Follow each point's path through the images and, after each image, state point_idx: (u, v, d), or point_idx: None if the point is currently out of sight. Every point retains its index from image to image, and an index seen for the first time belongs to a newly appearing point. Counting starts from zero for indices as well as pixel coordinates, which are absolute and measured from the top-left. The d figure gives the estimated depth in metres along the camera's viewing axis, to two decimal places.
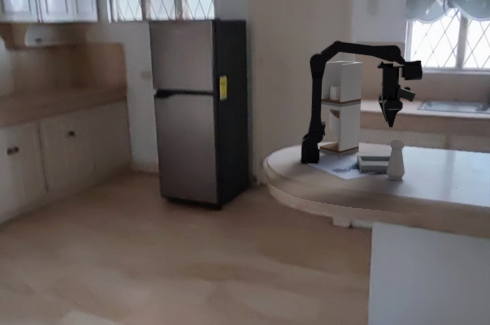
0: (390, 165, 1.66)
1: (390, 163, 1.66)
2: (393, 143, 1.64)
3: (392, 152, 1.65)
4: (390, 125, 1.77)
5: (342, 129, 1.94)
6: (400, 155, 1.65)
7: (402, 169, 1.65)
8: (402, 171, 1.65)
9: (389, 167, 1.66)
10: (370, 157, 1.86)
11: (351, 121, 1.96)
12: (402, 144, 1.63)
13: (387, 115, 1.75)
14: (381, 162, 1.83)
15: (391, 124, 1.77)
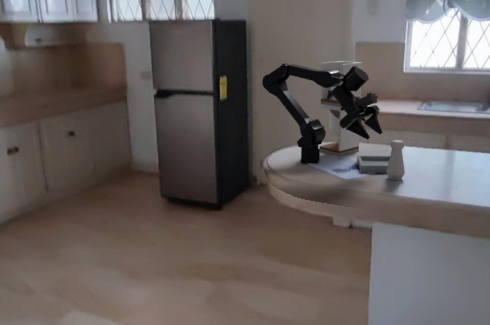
0: (390, 165, 1.66)
1: (390, 163, 1.66)
2: (393, 143, 1.64)
3: (392, 152, 1.65)
4: (366, 137, 1.66)
5: (342, 129, 1.94)
6: (400, 155, 1.65)
7: (402, 169, 1.65)
8: (402, 171, 1.65)
9: (389, 167, 1.66)
10: (370, 157, 1.86)
11: None
12: (402, 144, 1.63)
13: (355, 131, 1.67)
14: (381, 162, 1.83)
15: (366, 136, 1.66)
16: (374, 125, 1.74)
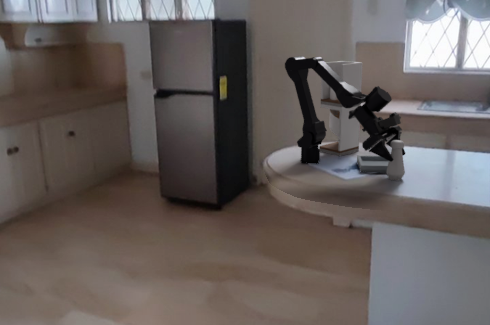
0: (390, 165, 1.66)
1: (390, 163, 1.66)
2: (393, 143, 1.64)
3: (392, 152, 1.65)
4: (389, 159, 1.63)
5: (342, 129, 1.94)
6: (400, 155, 1.65)
7: (402, 169, 1.65)
8: (402, 171, 1.65)
9: (389, 167, 1.66)
10: (370, 157, 1.86)
11: (351, 121, 1.96)
12: (402, 144, 1.63)
13: (378, 153, 1.63)
14: (381, 162, 1.83)
15: (389, 158, 1.63)
16: None
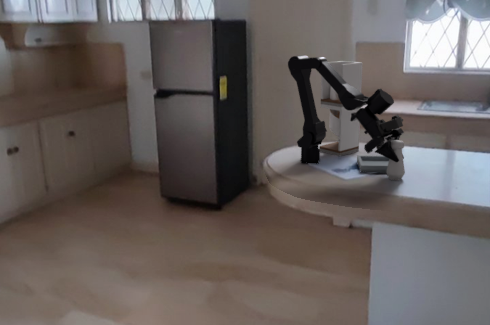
0: (390, 165, 1.66)
1: (390, 163, 1.66)
2: (393, 143, 1.64)
3: None
4: (395, 160, 1.64)
5: (342, 129, 1.94)
6: (400, 155, 1.65)
7: (402, 169, 1.65)
8: (402, 171, 1.65)
9: (389, 167, 1.66)
10: (370, 157, 1.86)
11: (351, 121, 1.96)
12: (402, 144, 1.63)
13: (384, 154, 1.65)
14: (381, 162, 1.83)
15: (395, 159, 1.64)
16: None
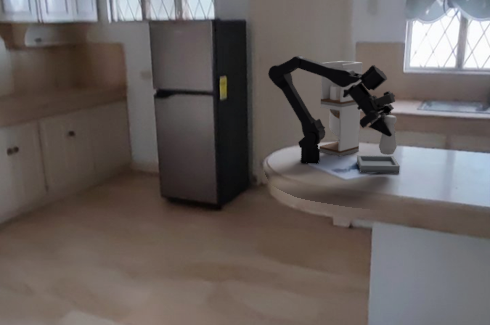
0: (383, 139, 1.71)
1: (383, 138, 1.71)
2: (386, 118, 1.69)
3: None
4: (388, 134, 1.70)
5: (342, 129, 1.94)
6: (393, 130, 1.70)
7: (394, 143, 1.71)
8: (394, 145, 1.71)
9: (382, 141, 1.72)
10: (370, 157, 1.86)
11: (351, 121, 1.96)
12: (395, 119, 1.69)
13: (377, 128, 1.70)
14: (381, 162, 1.83)
15: (388, 133, 1.70)
16: None
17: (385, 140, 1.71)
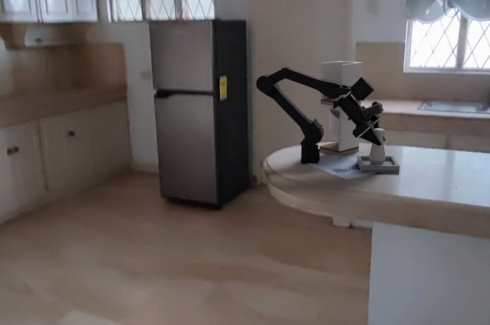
0: (373, 152, 1.78)
1: (373, 150, 1.78)
2: (376, 131, 1.76)
3: None
4: (378, 144, 1.75)
5: (342, 129, 1.94)
6: (382, 142, 1.77)
7: (384, 155, 1.78)
8: (384, 157, 1.78)
9: (372, 154, 1.79)
10: None
11: (351, 121, 1.96)
12: (384, 132, 1.76)
13: (367, 139, 1.75)
14: None
15: (378, 143, 1.75)
16: None
17: (375, 152, 1.78)
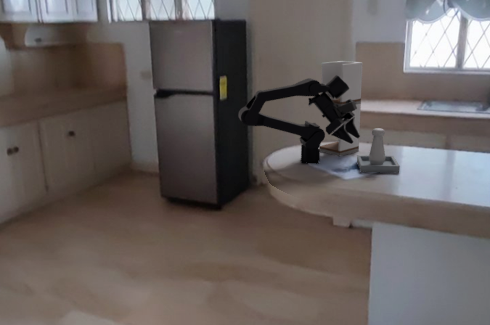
0: (373, 152, 1.78)
1: (373, 150, 1.78)
2: (375, 131, 1.76)
3: (374, 140, 1.78)
4: (350, 141, 1.78)
5: None
6: (381, 142, 1.77)
7: (384, 155, 1.78)
8: (384, 157, 1.78)
9: (372, 154, 1.79)
10: None
11: None
12: (383, 132, 1.76)
13: (339, 136, 1.78)
14: None
15: (350, 140, 1.78)
16: (352, 130, 1.87)
17: (375, 152, 1.78)
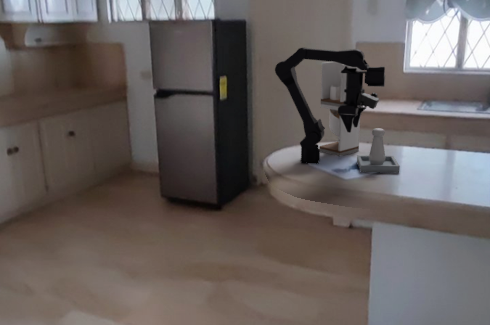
0: (373, 152, 1.78)
1: (373, 150, 1.78)
2: (375, 131, 1.76)
3: (374, 140, 1.78)
4: (348, 130, 1.77)
5: (342, 129, 1.94)
6: (381, 142, 1.77)
7: (384, 155, 1.78)
8: (384, 157, 1.78)
9: (372, 154, 1.79)
10: None
11: None
12: (383, 132, 1.76)
13: (344, 120, 1.75)
14: None
15: (348, 129, 1.77)
16: (355, 117, 1.85)
17: (375, 152, 1.78)
